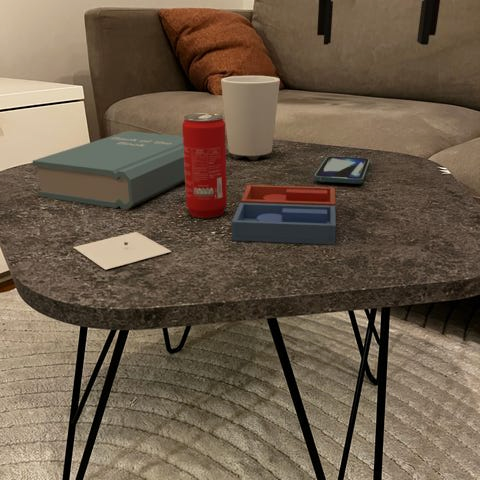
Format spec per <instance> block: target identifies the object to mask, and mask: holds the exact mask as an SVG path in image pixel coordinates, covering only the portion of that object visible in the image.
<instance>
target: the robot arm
mask: <svg viewBox="0 0 480 480" xmlns="http://www.w3.org/2000/svg"><path fill="white" fill-rule="evenodd" d="M440 4H441V0H421V6H420V15H419V23H418V31H417V38H416V42H417V43H418V44H420V45H422V46H428V45H429V42H430V36H436V33H437V27H438V20H439V12H440ZM333 8H334V1H333V0H318V9H317V27H316V29H317V30H316V35H317V36H323V45H325V46H327V45H330V44H331V43H332V26H333V10H334V9H333Z"/></svg>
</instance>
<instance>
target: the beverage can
mask: <svg viewBox="0 0 480 480" xmlns="http://www.w3.org/2000/svg"><path fill="white" fill-rule="evenodd" d="M223 118H224V116H223V115H222V114H218V113H209V112H207V113H205V112H204V113H203V112H202V113H191V114H187V115H184V117H183V119H184V120H183V122H182V125H181V128H182V136H183V148H184V167H185V181H184V183H185V184H184V185H185V203H186V208H187V209H188V211H189V215H190V216H191V217H193V218H198V219H214V218H218V217H221V216H222V215H224V214H225V209H226V207H227V204H228V203H227V201H228V199H227V198H228V197H227V150H226V149H227V147H226V145H227V144H226V122H225V120H224V119H223Z"/></svg>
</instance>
